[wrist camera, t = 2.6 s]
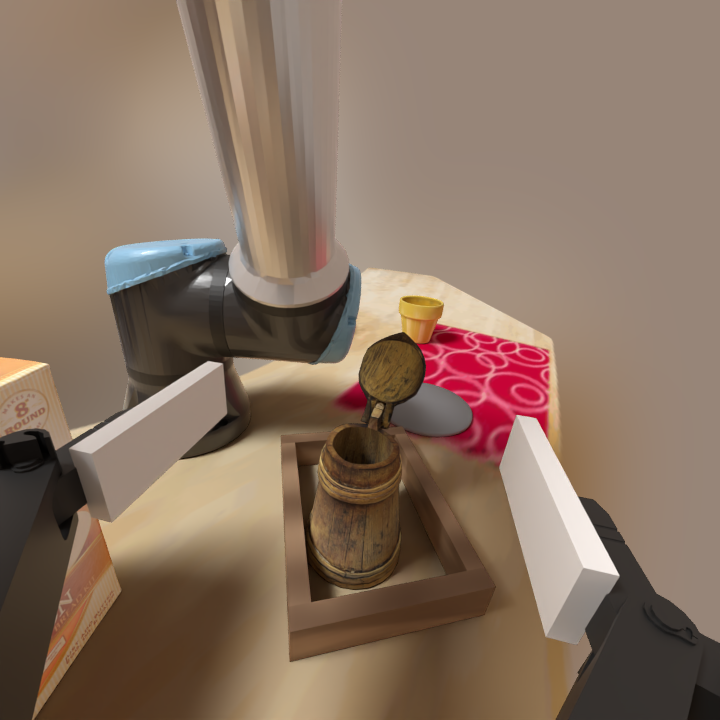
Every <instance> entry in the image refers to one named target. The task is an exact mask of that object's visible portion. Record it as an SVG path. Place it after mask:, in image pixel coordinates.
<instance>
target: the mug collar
mask: <svg viewBox="0 0 720 720" xmlns="http://www.w3.org/2000/svg"><path fill="white" fill-rule="evenodd" d="M383 430H384V431H385V432H387V433H388V434H390V435H391V436H392V437H393V438H394V439H395V440H396V441H397V442H398V444H399V448H400V456H401V461H402V477H401V479H402V481H403V483H404V485H405V487H406V489H407V491H408V493H409V496H410V498H411V500H412V502H413V504H414V506H415V508H416V511H417V513H418V515H419V517H420V519H421V521H422V523H423V525H424V528H425V530H426V532H427V534H428V536H429V538H430V540H431V543H432V545H433V547H434V549H435V551H436V553H437V555H438V557H439V560H440V562H441V564H442V566H443V568H444V570H445V572H446V574H447V575H444V576H439V577H434V578H429V579H424V580H419V581H414V582H409V583H404V584H399V585H394V586H389V587H384V588H379V589H374V590H369V591H364V592H359V593H354V594H349V595H344V596H340V597H335V598H330V599H325V600H320V601H315V602H311V596H310V586H309V576H308V566H307V556H306V546H305V536H304V527H303V517H302V507H301V497H300V487H299V477H298V467H297V466H305V465H315V464H319V461H320V456H321V452H322V449H323V447H324V446H325V444H326V441H327V437H328V436H329V434H330V433H331V432H319V433H305V434H292V435H281V464H282V488H283V513H284V537H285V561H286V585H287V610H288V634H289V658H290V662H291V661H295V660H299V659H303V658H307V657H311V656H315V655H319V654H324V653H328V652H332V651H336V650H340V649H344V648H348V647H353V646H357V645H361V644H365V643H369V642H373V641H377V640H381V639H386V638H390V637H394V636H398V635H402V634H406V633H410V632H414V631H419V630H423V629H427V628H431V627H435V626H439V625H443V624H447V623H452V622H456V621H460V620H464V619H468V618H472V617H476V616H481V615H484V614H485V611H486V609H487V607H488V604H489V602H490V599H491V597H492V594H493V592H494V590H495V585H494V583H493V582H492V580H491V578H490V576H489V575H488V573H487V571H486V569H485V568H484V566H483V564H482V563H481V561H480V559H479V557H478V556H477V554H476V552H475V551H474V549H473V547H472V545H471V544H470V542H469V540H468V538H467V537H466V535H465V533H464V532H463V530H462V528H461V526H460V525H459V523H458V521H457V520H456V518H455V516H454V514H453V513H452V511H451V509H450V508H449V506H448V504H447V502H446V501H445V499H444V497H443V495H442V494H441V492H440V490H439V489H438V487H437V485H436V483H435V482H434V480H433V478H432V477H431V475H430V473H429V471H428V470H427V468H426V466H425V464H424V463H423V461H422V459H421V458H420V456H419V454H418V452H417V451H416V449H415V447H414V446H413V444H412V442H411V440H410V439H409V437H408V435H407V433H406V432H405V430H404V428H403V427H402V426H400V427H389V428H388V429H383Z"/></svg>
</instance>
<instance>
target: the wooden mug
mask: <svg viewBox="0 0 720 720" xmlns="http://www.w3.org/2000/svg"><path fill="white" fill-rule="evenodd" d="M425 371H426V364H425V358H424V356H423V354H422V351H421V349H420V348H419V347H418V345H417V344H416V343H415V342H414V341H413V340H412V339H411V338H410V337H409V336H408V335H407V334H406V333H405V332H402V333H398V334H394V335H391V336H388V337H386V338H383V339H381V340H379V341H378V342H376V343H374V344H373V345H372V346H370V347H369V348H368V350H367V352H366V354H365V355H364V357H363V361H362V364H361V367H360V371H359V384H360V386H361V389H362V391H363V392H364V394H365V396H366V398H367V400H368V401H367V405H366V408H365V412H364V414H363V417H362V419H361V421H363V422H365V423H367V424H343V425H341V426H339V427H337V428H335V429H334V430H333V431H332V432H331V433H330V434H329V436H328V437H327V441H326V444H325V446H324V447H323V449H322V452H321V456H320V461H319V465H318V471H317V472H318V478H319V481H318V487H317V492H316V496H315V501H314V505H313V509H312V511H311V513H310V515H309V520H308V524H307V532H306V541H305V546H306V556H307V559H308V562H309V563H310V565H311V566H312V567H313V568H314V570H315V571H316V572H317V573H318V574H319V575H320V576H321V577H323V578H324V579H325V580H326V581H328V582H330V583H332V584H335V585H337V586H339V587H343V588H349V589H361V588H369V587H371V586H374V585H376V584H378V583H381V582H382V581H384V580H385V579H386V578H387V577H388V576H390V575H391V574H392V572H393V570H394V568H395V566H396V565H397V561H398V557H399V553H400V542H401V529H400V524H399V484H400V481H401V477H402V461H401V456H400V448H399V444H398V442H397V441H396V440H395V439H394V438H393V437H392V436H391V435H390V434H388V433H387V432H385V431H384V430H383V429H388V428H389V425H390V421H391V418H392V414H393V410H394V407H395V406H397V405H399V404H402V403H405V402H407V401H408V400H410V399H411V398H413V397H414V396H416V394H417V393H418V391H419V389H420V388H421V385H422V383H423V381H424V377H425Z"/></svg>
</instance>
